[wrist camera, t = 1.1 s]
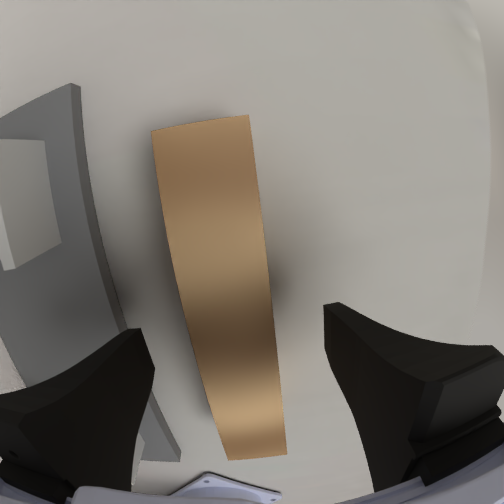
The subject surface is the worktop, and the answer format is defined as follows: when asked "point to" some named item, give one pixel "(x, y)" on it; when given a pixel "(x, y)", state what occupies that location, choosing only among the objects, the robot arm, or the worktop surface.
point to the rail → (224, 277)
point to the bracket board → (58, 255)
